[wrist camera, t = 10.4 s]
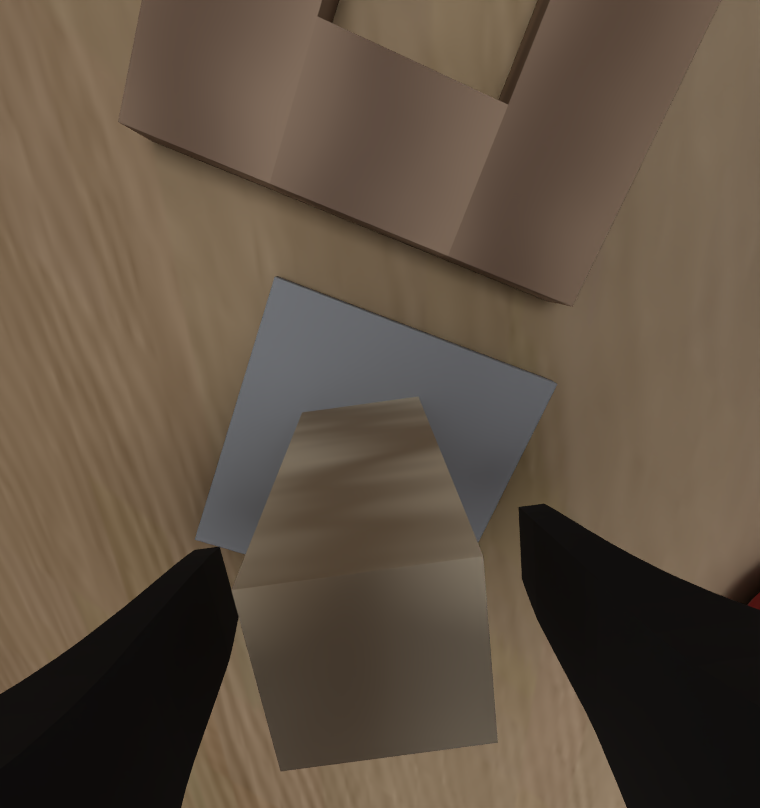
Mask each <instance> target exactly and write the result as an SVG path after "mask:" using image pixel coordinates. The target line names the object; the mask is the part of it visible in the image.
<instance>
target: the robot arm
mask: <svg viewBox="0 0 760 808" xmlns="http://www.w3.org/2000/svg"><path fill="white" fill-rule="evenodd" d="M519 526H520V547H521V568H522V580H523V583H524V586H525V589H526V591H527V594H528V597H529V600H530V602H531V605H532V607H533V610H534V612H535V615H536V618H537V620H538V622H539V624H540V626H541V628H542V630H543V631H544V633H545V635H546V637H547V639H548V641H549V643H550V645H551V647H552V649H553V651H554V653H555V654H556V656H557V658H558V660H559V662H560V664H561V666H562V668H563V670H564V671H565V673H566V675H567V677H568V679H569V681H570V683H571V685H572V687H573V688H574V690H575V692H576V694H577V696H578V698H579V700H580V702H581V704H582V706H583V707H584V709H585V711H586V713H587V715H588V717H589V720H590V722H591V724H592V726H593V728H594V730H595V732H596V734H597V737H598V739H599V741H600V744H601V746H602V748H603V751H604V753H605V756H606V758H607V760H608V763H609V765H610V768H611V770H612V772H613V775H614V777H615V780H616V782H617V784H618V787H619V789H620V792H621V794H622V797H623V799H624V802H625V804H626V807H627V808H760V610H759V609H756V608H753V607H751V606H748V605H745V604H742V603H739V602H736V601H734V600H731V599H728V598H726V597H723V596H721V595H718V594H716V593H713V592H711V591H708V590H706V589H703V588H701V587H699V586H696V585H694V584H692V583H690V582H687V581H685V580H683V579H680V578H678V577H676V576H673V575H671V574H669V573H667V572H665V571H663V570H661V569H659V568H657V567H655V566H653V565H651V564H649V563H647V562H645V561H643V560H641V559H639V558H637V557H635V556H633V555H631V554H629V553H628V552H626V551H624V550H622V549H620V548H618V547H617V546H615V545H613V544H611V543H610V542H608V541H606V540H604V539H603V538H601V537H599V536H598V535H596V534H594V533H592V532H591V531H589V530H587V529H586V528H584V527H583V526H581V525H579V524H578V523H576V522H574V521H573V520H571V519H569V518H568V517H566V516H565V515H563V514H561V513H560V512H558V511H556V510H555V509H553V508H551V507H549V506H548V505H546V504H538V505H531V506H523V507H519ZM238 617H239V616H238V613H237V609H236V605H235V601H234V598H233V594H232V590H231V587H230V583H229V579H228V576H227V572H226V568H225V565H224V561H223V557H222V554H221V550H220V547H214V548H206V549H199V550H194V551H193V552H191V553H190V554H188V555H187V556H186V557H184V558H183V559H182V560H180V561H179V562H178V563H177V564H175V565H174V566H173V567H172V568H171V569H169V570H168V571H167V572H166V573H165V574H163V575H162V576H161V577H160V578H159V579H157V580H156V581H155V582H154V583H153V584H151V585H150V586H149V587H148V588H147V589H145V590H144V591H143V592H142V593H141V594H139V595H138V596H137V597H136V598H135V599H133V600H132V601H131V602H130V603H128V604H127V605H126V606H125V607H124V608H122V609H121V610H120V611H118V612H117V613H116V614H115V615H113V616H112V617H111V618H109V619H108V620H107V621H106V622H104V623H103V624H102V625H100V626H99V627H98V628H97V629H95V630H94V631H93V632H91V633H90V634H89V635H88V636H86V637H85V638H84V639H82V640H81V641H80V642H78V643H77V644H75V645H74V646H73V647H71V648H70V649H69V650H67V651H66V652H64V653H63V654H61V655H60V656H59V657H57V658H56V659H54V660H53V661H51V662H50V663H48V664H47V665H45V666H44V667H42V668H41V669H39V670H38V671H36V672H35V673H33V674H32V675H30V676H29V677H27V678H26V679H24V680H23V681H21V682H20V683H18V684H16V685H15V686H13V687H11V688H10V689H8V690H6V691H5V692H3V693H1V694H0V808H181V806H182V802H183V798H184V794H185V790H186V786H187V783H188V780H189V776H190V773H191V770H192V767H193V763H194V760H195V757H196V755H197V752H198V749H199V746H200V743H201V740H202V737H203V735H204V732H205V729H206V726H207V723H208V720H209V718H210V715H211V712H212V709H213V706H214V703H215V700H216V698H217V695H218V692H219V689H220V686H221V683H222V680H223V677H224V674H225V671H226V668H227V665H228V662H229V659H230V655H231V651H232V646H233V642H234V637H235V632H236V627H237V622H238Z"/></svg>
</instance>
